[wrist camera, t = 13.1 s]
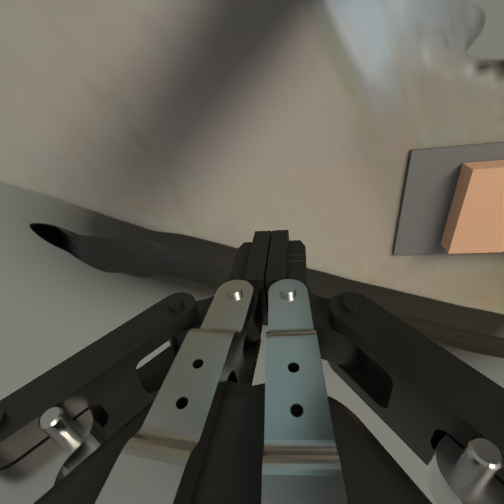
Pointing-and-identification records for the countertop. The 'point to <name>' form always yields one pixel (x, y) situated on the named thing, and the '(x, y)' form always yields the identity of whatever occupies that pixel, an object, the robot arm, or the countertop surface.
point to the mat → (434, 194)
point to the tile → (477, 210)
